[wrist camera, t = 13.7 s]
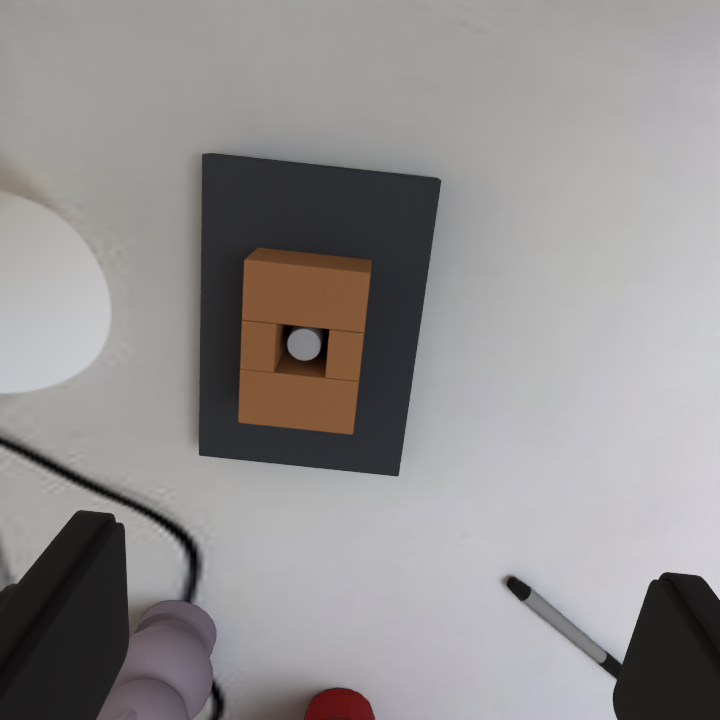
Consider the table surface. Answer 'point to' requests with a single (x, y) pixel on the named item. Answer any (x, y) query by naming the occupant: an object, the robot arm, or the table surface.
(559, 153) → the table surface
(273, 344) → the brown block with hole
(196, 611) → the cat figurine
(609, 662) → the pen
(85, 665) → the robot arm
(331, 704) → the plastic cup
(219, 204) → the charcoal back pad
